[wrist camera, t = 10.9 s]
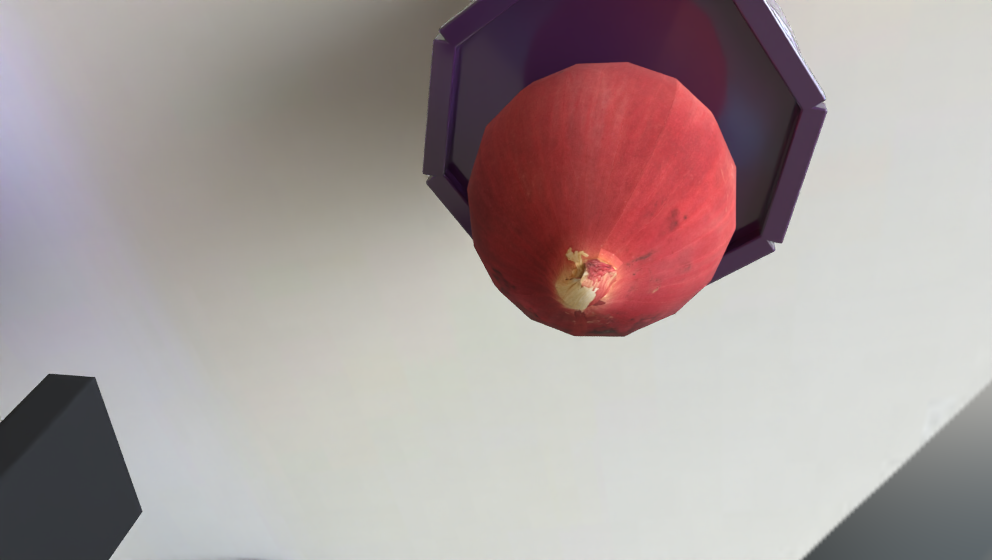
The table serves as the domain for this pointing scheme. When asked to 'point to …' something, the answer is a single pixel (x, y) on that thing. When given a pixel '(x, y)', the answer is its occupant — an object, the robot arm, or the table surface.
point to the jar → (650, 44)
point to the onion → (602, 198)
